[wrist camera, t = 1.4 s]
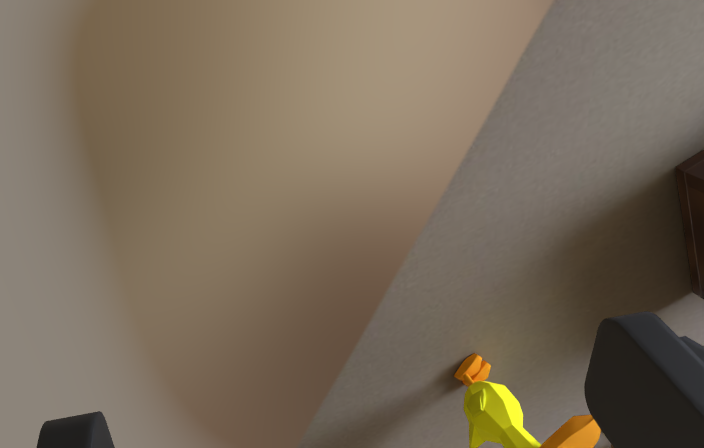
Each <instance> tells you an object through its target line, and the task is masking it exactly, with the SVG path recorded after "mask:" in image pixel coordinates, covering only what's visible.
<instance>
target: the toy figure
mask: <svg viewBox="0 0 704 448" xmlns="http://www.w3.org/2000/svg"><path fill="white" fill-rule="evenodd" d="M481 361H482V358H481V357H480V356H478V355H477V354H475V353H474V354H472V355H471V356H469V357H468V358H466V359H465V361H464V362H463V363H462V364H461V366H460V367H459V369H458V370H457V372H456V373H455V375H454V376H455V378H457V379H459V380H463V381H462V382H463V384H465V385H466V386H467V387H468V389H467V391H466V393H465V399H464V412H465V414H466V416H467V419H468V421H469V448H477V447H479V446H480V445H481V444H482V443H484V442H485V441H491V442H496V443H500V444H502V445H503V447H504V448H593V447H594V446H595V444H596V443H597V441H598V439H599V436H600V433H601V429H600V427H599V426H598V425H597V423H596V422H595V420H594V419H593V417H592V415H582V416H573V417H572V418H571V419H569V420H568V421H567V422H566V423H565V424H564V425H562V426H561V427H560V428H559V429H558V430H557V431H556V432H555V433H554V434H553V435H552V436H551V437H549V438H548V439H547V440H546V441H545V442H544V443H543V444H542V445H541V444H540V443H539V442H538V441H537V440H535V439H534V438H533V437H532V436H531V435H530V434H529V433H528V432H527V431H526V430H525V429H524V428H522V425H523V413H522V410H521V407H520V404H519V402H518V401H517V399H516V398H515V397H514V396H513V395H512V394H511V392H510V391H509V390H508V389H507V388H506V387H505V385H501V384H496V383H491V382H485V381H484V380H485V379H487V378H488V375H489V371H490V368H491V365H489V364H488V363H487V362H486V361H484V360H483V361H482V362H481Z"/></svg>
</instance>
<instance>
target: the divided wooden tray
mask: <svg viewBox="0 0 704 448" xmlns="http://www.w3.org/2000/svg"><path fill="white" fill-rule="evenodd" d="M675 170H676V177H677V184H678V190H679V197H680V204H681V211H682V218H683V224H684V231H685V238H686V245H687V252H688V258H689V265H690V272H691V279H692V286H693V292H694V293H695V294H696V295H698V296H700V297H701V298H703V299H704V150H703V151H701V152H700V153H698V154H696V155H695V156H693V157H691V158H690V159H688V160H687V161H685V162H683V163H682V164H680V165H678V166H677V167H676V168H675Z"/></svg>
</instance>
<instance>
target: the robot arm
mask: <svg viewBox="0 0 704 448" xmlns="http://www.w3.org/2000/svg"><path fill="white" fill-rule="evenodd" d="M585 398H586V402H587V405H588V408H589V411H590V413H591V415H592V417H593V419H594V420H595V422H596V423H597V425H598V426H599V427H600V429H601V430H602V432H603V433H604V434H605V436H606V437H607V439H608V440H609V441H610V443H611V444H612V446H613V447H614V448H704V347H703V346H701V345H700V344H698V343H696V342H695V341H693V340H691V339H689V338H688V337H686V336H684V337H678V336H677V335H676V334H675V333H674V332H673V331H672V330H671V329H670V328H669V327H668V326H667V325H666V324H665V323H664V322H663V321H662V320H661V319H660V318H659V317H658V316H657V315H655V314H653V313H651V312H647V311H645V312H640V313H634V314H629V315H624V316H618V317H613V318H608V319H604V320H603V321H602V322H601V323H600V325H599V327H598V331H597V335H596V339H595V343H594V347H593V351H592V355H591V359H590V364H589V368H588V372H587V376H586V380H585ZM37 448H115V447H114V445H113V441H112V438H111V435H110V432H109V429H108V426H107V423H106V420H105V417H104V416H103V414H102V412H100V411H99V412H94V413H88V414H83V415H77V416H72V417H67V418H61V419H56V420H51V421H46V422H45V423H44V424H43V426H42V428H41V431H40V435H39V439H38V444H37Z"/></svg>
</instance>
